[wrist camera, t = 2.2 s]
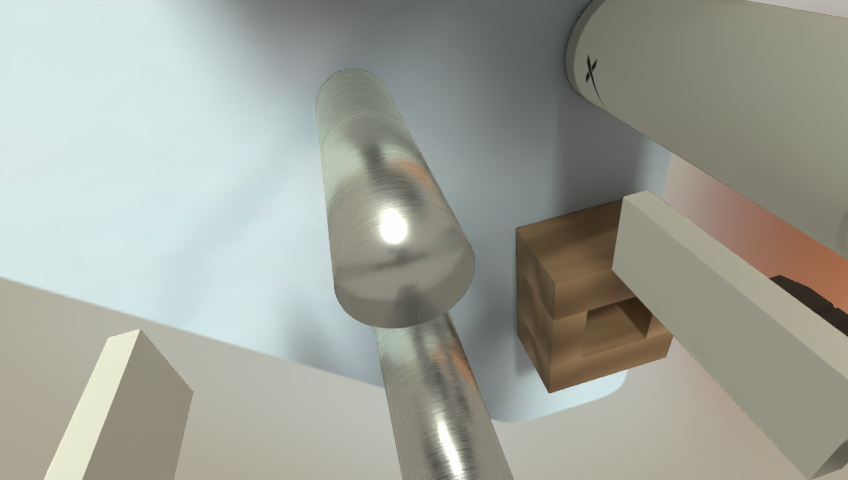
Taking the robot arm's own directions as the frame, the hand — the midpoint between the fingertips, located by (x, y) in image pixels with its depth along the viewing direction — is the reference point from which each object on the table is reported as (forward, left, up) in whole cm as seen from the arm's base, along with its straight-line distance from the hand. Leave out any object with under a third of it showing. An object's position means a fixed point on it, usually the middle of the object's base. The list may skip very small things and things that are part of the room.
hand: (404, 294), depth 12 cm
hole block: (+17, +14, -14) cm, 26 cm away
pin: (0, 0, -14) cm, 14 cm away
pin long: (+9, 0, -14) cm, 17 cm away
